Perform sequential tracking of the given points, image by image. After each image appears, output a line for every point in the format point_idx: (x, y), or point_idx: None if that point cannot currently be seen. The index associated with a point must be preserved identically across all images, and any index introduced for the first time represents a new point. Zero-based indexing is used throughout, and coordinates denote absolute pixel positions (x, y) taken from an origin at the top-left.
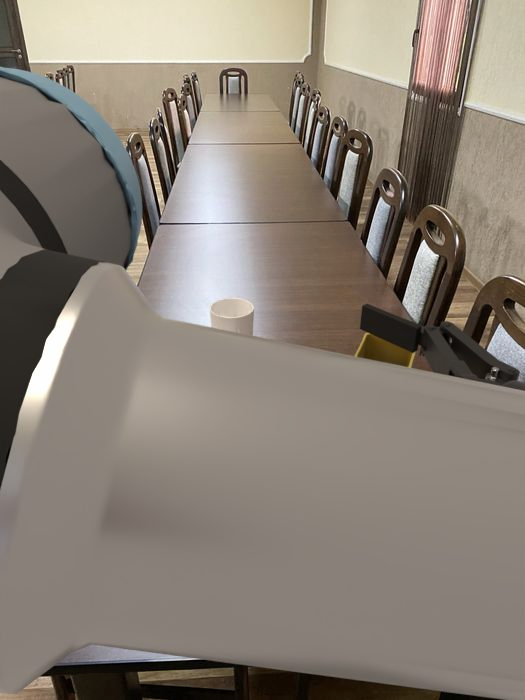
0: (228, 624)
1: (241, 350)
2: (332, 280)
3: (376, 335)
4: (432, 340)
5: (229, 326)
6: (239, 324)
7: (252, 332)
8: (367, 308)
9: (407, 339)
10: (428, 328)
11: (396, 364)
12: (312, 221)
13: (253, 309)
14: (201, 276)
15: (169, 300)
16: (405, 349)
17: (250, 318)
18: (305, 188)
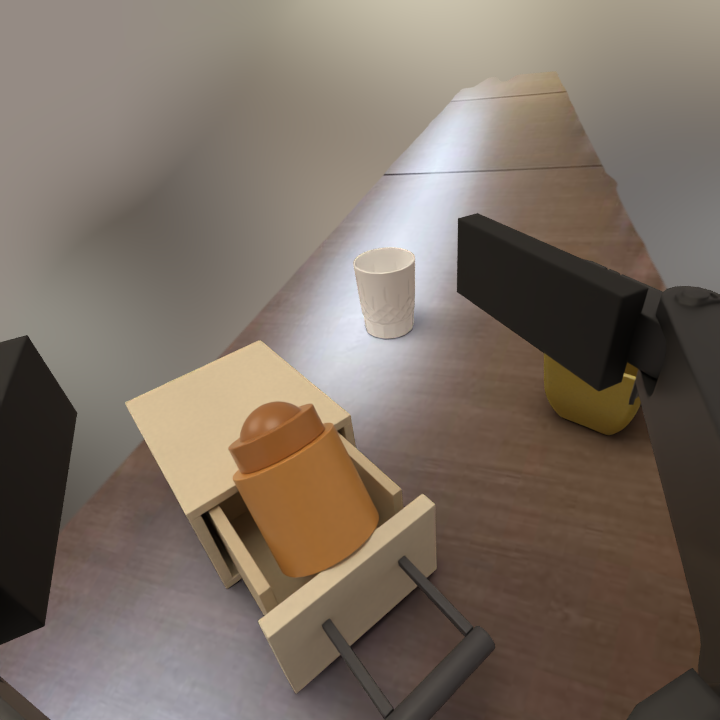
0: None
1: None
2: (564, 235)
3: (493, 314)
4: (687, 360)
5: (373, 285)
6: (387, 283)
7: (411, 296)
8: (469, 226)
9: (581, 338)
10: (679, 300)
11: (630, 366)
12: (559, 167)
13: (411, 263)
14: (396, 228)
15: (347, 254)
16: (573, 373)
17: (405, 276)
18: (563, 133)
